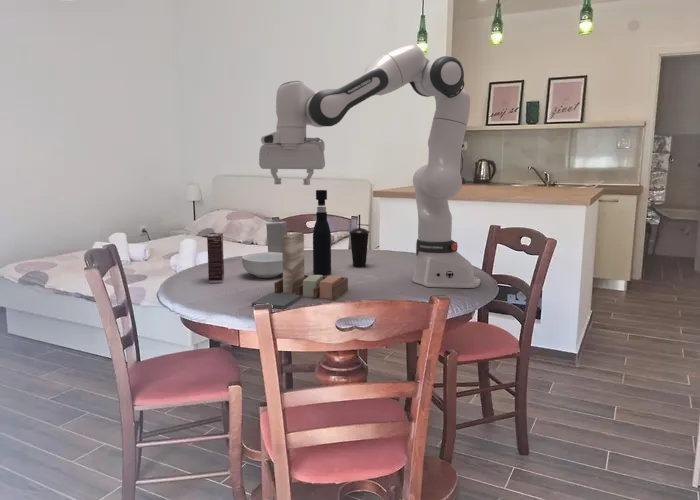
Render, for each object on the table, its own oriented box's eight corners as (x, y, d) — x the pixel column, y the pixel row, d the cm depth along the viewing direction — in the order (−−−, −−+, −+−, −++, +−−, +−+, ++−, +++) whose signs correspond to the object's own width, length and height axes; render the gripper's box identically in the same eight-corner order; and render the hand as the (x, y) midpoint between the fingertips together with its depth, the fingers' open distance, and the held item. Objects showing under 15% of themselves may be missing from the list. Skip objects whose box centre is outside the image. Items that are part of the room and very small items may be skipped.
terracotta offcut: (341, 292, 169) (341, 276, 168) (332, 299, 160) (332, 282, 160) (329, 291, 170) (329, 275, 169) (319, 298, 162) (319, 281, 161)
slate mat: (300, 298, 161) (300, 295, 160) (284, 309, 149) (284, 305, 149) (269, 295, 163) (269, 292, 163) (251, 306, 152) (251, 302, 152)
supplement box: (223, 283, 181) (221, 236, 178) (208, 283, 180) (206, 236, 177) (224, 277, 189) (222, 232, 186) (210, 277, 188) (208, 232, 185)
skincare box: (283, 262, 215) (282, 223, 212) (266, 262, 216) (265, 223, 213) (289, 258, 223) (288, 220, 221) (272, 258, 224) (271, 220, 222)
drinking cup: (345, 266, 208) (345, 214, 205) (359, 263, 213) (360, 213, 210) (358, 269, 202) (358, 216, 199) (373, 266, 207) (373, 214, 204)
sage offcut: (322, 290, 171) (322, 275, 170) (315, 297, 162) (315, 281, 161) (310, 290, 172) (310, 274, 171) (302, 297, 163) (302, 280, 162)
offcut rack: (347, 289, 171) (347, 277, 170) (334, 300, 158) (334, 287, 158) (291, 285, 176) (291, 273, 176) (274, 295, 164) (274, 282, 163)
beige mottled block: (304, 288, 173) (303, 232, 170) (292, 296, 163) (291, 237, 160) (296, 287, 174) (294, 232, 171) (283, 295, 164) (281, 236, 161)
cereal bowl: (235, 280, 185) (234, 259, 184) (251, 270, 201) (251, 251, 200) (283, 281, 182) (283, 261, 181) (296, 271, 199) (295, 252, 197)
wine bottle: (328, 276, 190) (328, 190, 185) (311, 275, 192) (310, 190, 187) (332, 272, 197) (332, 189, 192) (315, 271, 198) (314, 189, 193)
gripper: (327, 137, 161) (328, 184, 163) (265, 138, 167) (266, 183, 169) (320, 137, 155) (320, 185, 157) (256, 137, 161) (257, 184, 163)
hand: (292, 184), depth 163 cm, fingers open, 8 cm apart
